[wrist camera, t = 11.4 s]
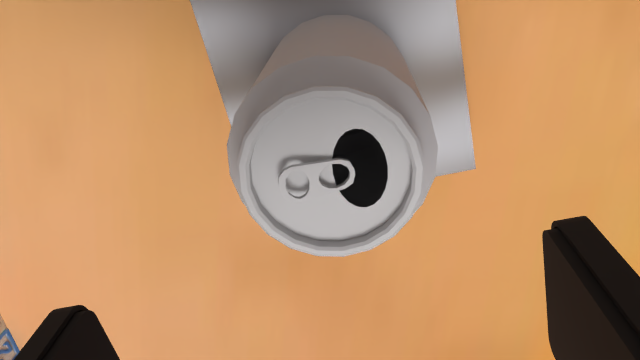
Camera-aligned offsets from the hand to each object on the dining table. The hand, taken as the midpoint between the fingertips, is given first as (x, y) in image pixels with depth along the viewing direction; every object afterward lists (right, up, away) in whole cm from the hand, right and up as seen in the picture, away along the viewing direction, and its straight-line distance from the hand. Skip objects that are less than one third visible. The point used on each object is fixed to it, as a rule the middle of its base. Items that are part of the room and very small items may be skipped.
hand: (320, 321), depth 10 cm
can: (+1, +8, +17) cm, 19 cm away
